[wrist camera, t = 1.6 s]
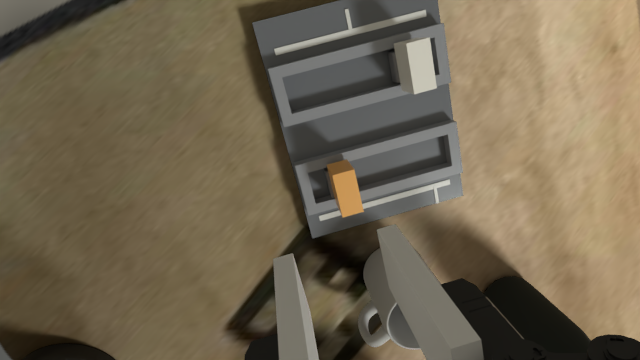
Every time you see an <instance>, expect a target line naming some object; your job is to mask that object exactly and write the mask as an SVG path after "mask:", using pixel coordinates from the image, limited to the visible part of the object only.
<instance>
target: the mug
mask: <svg viewBox="0 0 640 360" xmlns="http://www.w3.org/2000/svg"><path fill="white" fill-rule="evenodd" d="M414 250H415V249H414ZM415 251H416V250H415ZM416 253H417V254H418V255H419V257H420V258H421V259H422V257H421V256H420V254H419V253H418V252H417V251H416ZM422 261H423V262H424V260H423V259H422ZM424 263H425V262H424ZM425 265H426V266H427V264H426V263H425ZM427 267H428V266H427ZM428 269H429V270H430V268H429V267H428ZM430 271H431V270H430ZM431 273H432V274H433V272H432V271H431ZM433 275H434V274H433ZM363 277H364V282H365V285H366V287H367V289H368V291H369V294H370V297H371V299H372V300H371V301H370V302H369V303H368V304H367V305H366V306H365V307H364V308H363V309H362V311H361V312H360V314H359V317H358V326H359V330H360V333H361V335H362V337H363V339H364V341H365V342H366V343H367V344H368V345H370V346H372V347H378V346H380V345H382V344H384V343H385V342H386V341H388V340H389V339H391V340H392V341H393V342H394V343H396V344H397V345H399V346H401V347H403V348H407V349H421V348H420V346H419V344H418V342H417V340H416V338H415V336H414V334H413V332H412V331H411V329H410V327H409V325H408V323H407V321H406V319H405V317H404V315H403V313H402V311H401V310H400V308H399V306H398V304H397V302H396V300H395V298H394V296H393V294H392V292H391V290H390V289H389V285H388V280H387V276H386V271H385V266H384V262H383V257H382V253H381V248H379V249H377V250H376V251H374V252H373V253H372V254H371V255H370V257H369V258H368V259H367V261H366V263H365V266H364V271H363ZM434 277H435V278H436V276H435V275H434ZM436 279H437V278H436ZM437 281H438V282H439V280H438V279H437ZM439 284H440V285H441V283H440V282H439ZM377 312H378V314H379V316H380V319H381V322H382V326H381V328H380V329H379V330H378V331H377V332H376V333H374V334H373V335H370V333H369V330H368V322H369V319H370V318H371V317H372V316H373V315H374V314H375V313H377Z"/></svg>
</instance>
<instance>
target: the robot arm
mask: <svg viewBox="0 0 640 360" xmlns="http://www.w3.org/2000/svg"><path fill="white" fill-rule="evenodd" d="M376 230H377V234H378V239H379V243H380V248H381V253H382V257H383V262H384V266H385V271H386V276H387V280H388V285H389V289H390V290H391V292H392V294H393V296H394V298H395V300H396V302H397V304H398V306H399V308H400V310H401V311H402V313H403V315H404V317H405V319H406V321H407V323H408V325H409V327H410V329H411V331H412V332H413V334H414V336H415V338H416V340H417V342H418V344H419V346H420V348H421V350H422V352H423V353H424V355H425V357H426V359H427V360H640V342H639V341H637V340H635V339H632V338H628V337H625V336H622V335H603V336H598V337H596V338H595V339H593V340H592V341H590V343H589V345H588V348H587V353H552V352H548V351H546V350H545V349H544V348H543V347H542V346H541V345H539V344H537V343H535V342H533V341H530V340H525V339H523V338H522V337H521V336H520V335H519V334H518V333H517V332H516V330H515V329H514V328H513V327H512V326H511V325H510V324H509V323H508V321H507V320H506V319H505V318H504V317H503V316H502V315H501V314H500V312H499V311H498V310H497V309H496V308H495V307H493V305H492V303H491V302H490V301H489V300H488V299H487V298H485V296H484V294H483V293H482V292H481V291H480V290H479V289H478V288H477V286H476V285H474V284H472V283H470V282H468V281H466V280H464V279H462V278H461V279H458V280H455V281H451V282H448V283H444V284H441V285H440V284H439V282H438V281H437V279H436V278H435V277H434V275H433V274H432V273H431V271H430V270H429V269H428V267H427V266H426V265H425V263H424V262H423V261H422V259H421V258H420V257H419V255H418V254H417V253H416V251H415V250H414V249H413V247H412V246H411V245H410V243H409V242H408V240H407V239H406V238H405V236H404V235H403V234H402V232H401V231H400V230H399V228H398V227H397V226H396V224H394V225H390V226H387V227H383V228H380V229H376ZM273 262H274V279H275V297H276V314H277V332H278V334H275V335H272V336H268V337H265V338H262V339H258V340H255V341H252V342H251V344H250V346H249V348H248V350H247V352H246V354H245V360H319V357H318V351H317V346H316V340H315V335H314V330H313V324H312V319H311V313H310V309H309V306H308V302H307V299H306V296H305V293H304V289H303V286H302V283H301V279H300V276H299V273H298V269H297V266H296V263H295V259H294V256H293V253H292V254H289V255H285V256H282V257H278V258H275V259H273ZM22 360H114V359H113V358H112V357H110V356H109V355H107V354H105V353H104V352H102V351H100V350H97V349H94V348H92V347H88V346H84V345H78V344H57V345H51V346H47V347H44V348H41V349H38V350H36V351H34V352H32V353H30V354H29V355H27V356H26V357H25V358H23V359H22Z"/></svg>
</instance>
